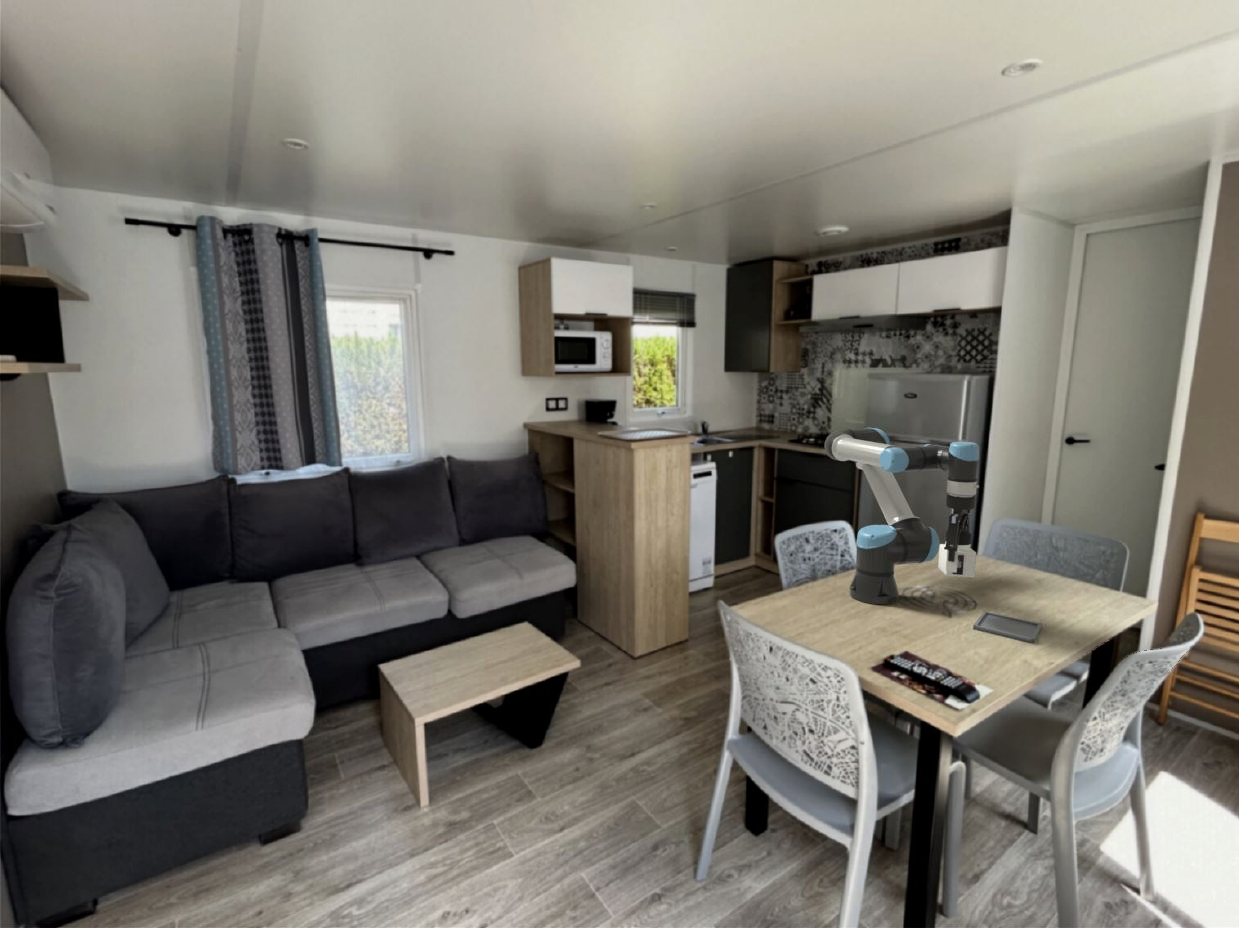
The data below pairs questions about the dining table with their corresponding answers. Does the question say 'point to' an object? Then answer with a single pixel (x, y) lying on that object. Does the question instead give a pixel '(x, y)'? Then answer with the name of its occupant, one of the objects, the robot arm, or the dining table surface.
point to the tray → (1008, 627)
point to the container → (960, 557)
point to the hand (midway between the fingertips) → (956, 566)
